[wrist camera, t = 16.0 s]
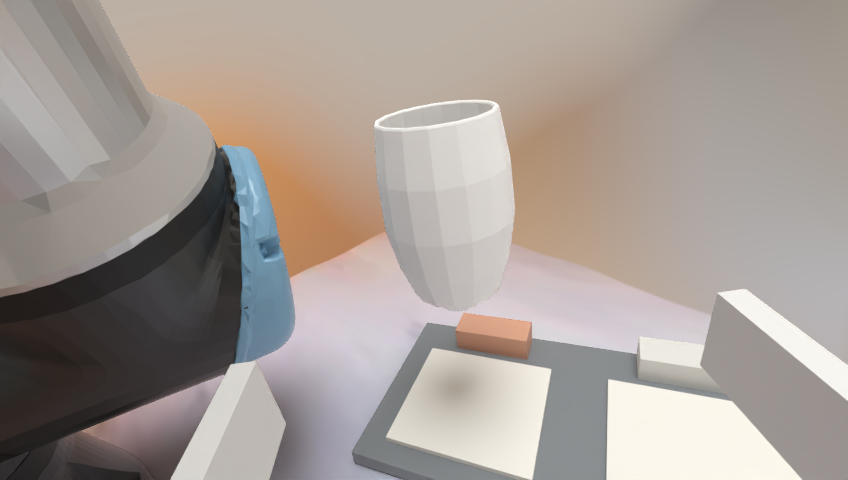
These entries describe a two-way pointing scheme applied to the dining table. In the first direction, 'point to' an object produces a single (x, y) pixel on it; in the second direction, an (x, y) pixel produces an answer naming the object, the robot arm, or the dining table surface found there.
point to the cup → (447, 198)
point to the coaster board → (558, 412)
